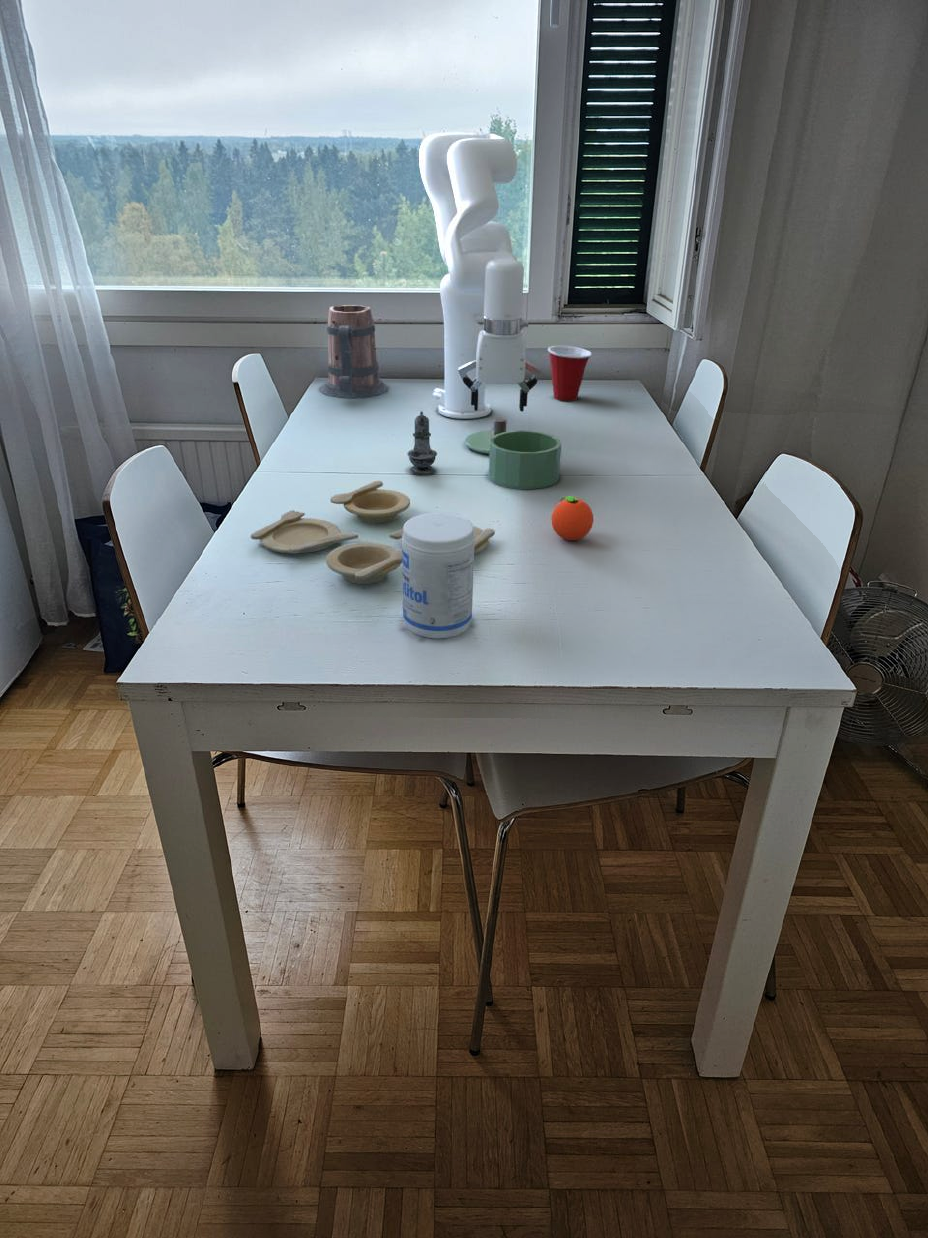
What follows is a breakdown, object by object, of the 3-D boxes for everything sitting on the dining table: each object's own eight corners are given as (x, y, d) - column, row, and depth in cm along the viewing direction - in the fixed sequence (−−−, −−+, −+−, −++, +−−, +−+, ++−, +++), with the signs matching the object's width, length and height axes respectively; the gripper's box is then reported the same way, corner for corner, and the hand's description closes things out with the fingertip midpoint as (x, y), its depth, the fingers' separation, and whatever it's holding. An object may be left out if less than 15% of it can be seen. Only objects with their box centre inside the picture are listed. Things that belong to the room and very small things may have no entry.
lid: (465, 456, 180) (465, 430, 177) (464, 434, 192) (465, 409, 189) (536, 457, 180) (537, 430, 177) (530, 435, 192) (532, 409, 190)
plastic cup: (590, 404, 214) (594, 354, 208) (546, 403, 214) (549, 354, 208) (585, 392, 223) (589, 344, 217) (543, 391, 223) (546, 343, 217)
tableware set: (512, 547, 142) (513, 524, 140) (379, 611, 123) (378, 586, 121) (369, 491, 162) (368, 471, 160) (236, 538, 144) (233, 516, 142)
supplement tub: (389, 625, 120) (385, 527, 112) (434, 600, 126) (434, 505, 119) (441, 649, 114) (441, 548, 107) (486, 622, 121) (489, 524, 113)
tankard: (327, 379, 232) (321, 300, 222) (390, 380, 231) (387, 301, 221) (310, 404, 211) (303, 319, 201) (379, 405, 211) (376, 320, 201)
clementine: (539, 531, 148) (542, 492, 144) (575, 525, 150) (578, 486, 146) (562, 550, 141) (565, 509, 138) (599, 543, 144) (603, 503, 140)
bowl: (490, 489, 164) (491, 453, 161) (487, 464, 176) (488, 430, 172) (561, 489, 164) (564, 453, 161) (554, 464, 176) (557, 430, 173)
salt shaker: (439, 466, 175) (438, 407, 169) (435, 476, 170) (434, 416, 164) (410, 464, 175) (408, 406, 169) (405, 475, 170) (404, 414, 164)
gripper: (543, 322, 177) (538, 403, 187) (459, 320, 177) (457, 402, 186) (546, 331, 171) (540, 415, 180) (459, 329, 171) (457, 414, 180)
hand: (498, 408), depth 183 cm, fingers open, 9 cm apart
